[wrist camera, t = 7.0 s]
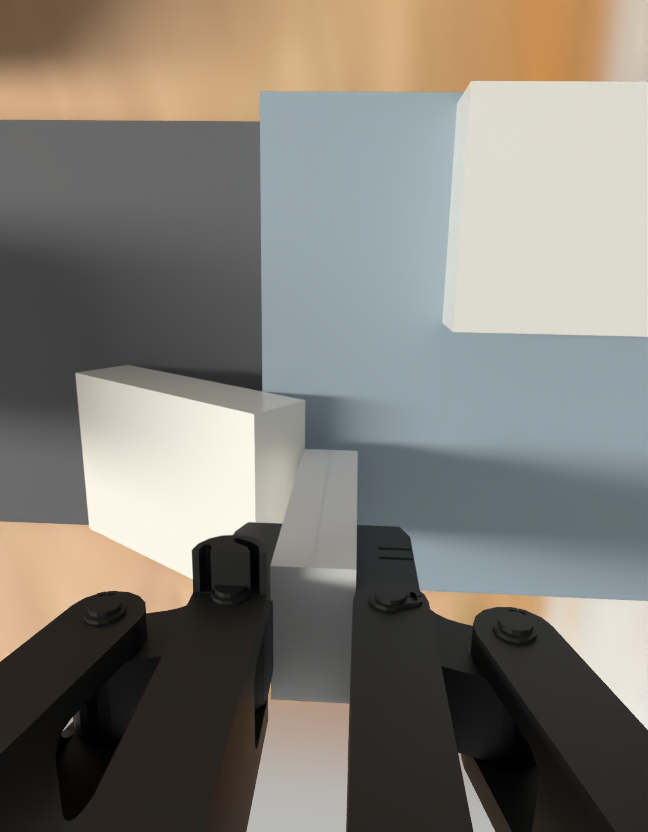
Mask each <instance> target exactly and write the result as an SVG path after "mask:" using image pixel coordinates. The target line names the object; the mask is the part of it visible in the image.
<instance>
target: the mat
mask: <svg viewBox="0 0 648 832" xmlns="http://www.w3.org/2000/svg"><path fill="white" fill-rule="evenodd" d="M124 365H131V366H137V367H142V368H147V369H152V370H157V371H162V372H167V373H172V374H177V375H182V376H187V377H192V378H197V379H202V380H207V381H212V382H217V383H222V384H227V385H232V386H237V387H242V388H247V389H252V390H257V391H262V291H261V181H260V122H243V121H96V120H0V521H8V522H33V523H57V524H81V525H89V519H88V508H87V497H86V486H85V475H84V464H83V453H82V442H81V430H80V419H79V408H78V397H77V386H76V375H75V373H77V372H84V371H91V370H97V369H104V368H110V367H117V366H124Z"/></svg>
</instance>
